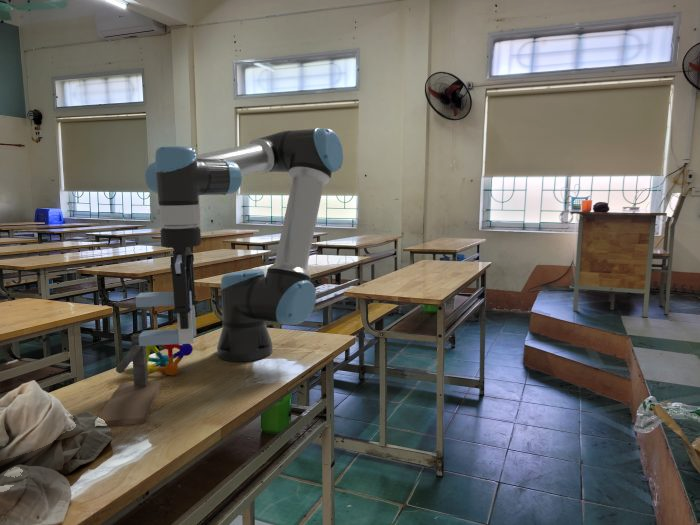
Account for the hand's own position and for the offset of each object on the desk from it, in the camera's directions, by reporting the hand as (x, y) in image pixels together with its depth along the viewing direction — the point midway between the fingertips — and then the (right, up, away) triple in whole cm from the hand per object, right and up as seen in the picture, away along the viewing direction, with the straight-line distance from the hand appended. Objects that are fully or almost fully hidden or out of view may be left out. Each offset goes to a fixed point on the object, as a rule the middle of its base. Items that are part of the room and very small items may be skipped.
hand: (188, 339), depth 101 cm
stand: (-13, -14, +4) cm, 20 cm away
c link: (-4, 0, -1) cm, 4 cm away
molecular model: (-15, -12, +23) cm, 30 cm away
